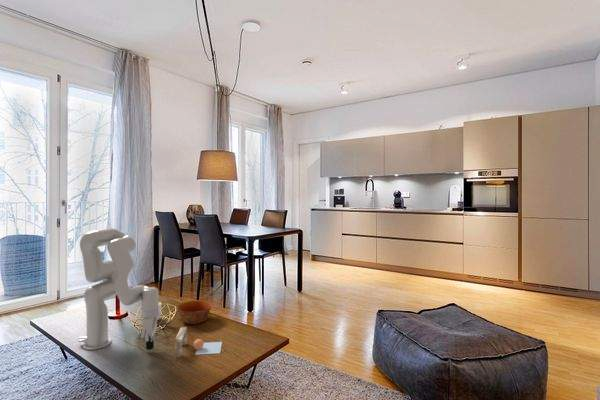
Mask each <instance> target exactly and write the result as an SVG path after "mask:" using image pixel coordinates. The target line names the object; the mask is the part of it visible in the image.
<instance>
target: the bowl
mask: <svg viewBox="0 0 600 400" xmlns="http://www.w3.org/2000/svg"><path fill="white" fill-rule="evenodd" d="M212 307H213V304H212V302H211V301H207V300H189V301H183V302H181V303H179V304H178V305H176V309H177V312H178V313H179V317H180V321H181V322H183V323H185V324H191V325H192V324H193V325H196V324H201V323H203V322H205V321H206V320H208V318H209V313H210V312H211V309H212Z"/></svg>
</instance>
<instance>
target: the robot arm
mask: <svg viewBox="0 0 600 400" xmlns="http://www.w3.org/2000/svg"><path fill="white" fill-rule="evenodd" d="M103 246H106V247H107V248H106V249H107V251H108V253H109V256H110V258H111V260H109V259H107V260H103V253H102V251H101V250H100V248H99V247H103ZM136 247H137V245H136V241H135V239H134V238H133V237H131V236H129V235H128V234H126V233H124V232H122V231H120V230H118V229H116V228H104V229H103V228H102V229H97V230H96V229H95V230H91V231H88V232H86V233H84V234H83V235H82V237H81V238H80V241H79V248H80V252H81V255H82V263H83V268H84V277H85V279H86V281H87V282H89V283H96V284H92V285H90V286H88V287H87V288H86V289H85V291H84V292H83V299H84V303H85V304H84V305H85V310H86V311H85V312H86V316H85V317H86V335H85V336H79V337H78V342H79V343H83V344H82V348H83V349H84V350H86V351H92V350H93V351H94V350H99V349H103V348H105V347H107V346H109V345H111V344H112V338H111V337H109V311H108V310H109V308H108V306H107V304H106V303H105V301H107V300H109V299H111V298H113V297H115V296H117V298H118V300H119V301H120V303H121V304H122V305H123V306H128V307H129V306H132V305H134V304H136V303H138V302H140V301H141V318H142V321H141V332H140V333H141V334H140V336H141V337H140V338H141V339H144V338H145V350H146V351H147V350H153V349H154V348H155V347H154V346H155V345H154V344H155V343H154V339H155V333H156V331H157V329H158V321H157V316H158V302H159V289H158V288H157V287H155V286H147V285H144V284H139V285H136V286H133V287H130V286H129V283H128V277H129V275H130V272H131V271H132V270H133V269H134V267H135V262H134V259H133V257H132V255H131V252H134V251H135V249H136ZM100 281H102V282H100ZM98 282H99V283H98Z"/></svg>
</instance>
